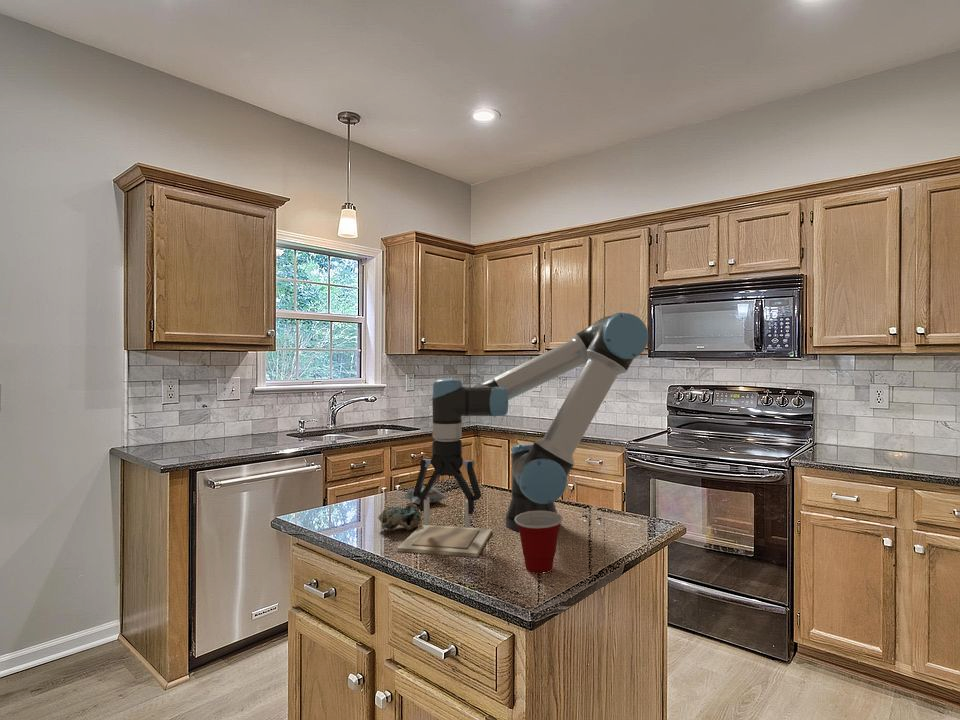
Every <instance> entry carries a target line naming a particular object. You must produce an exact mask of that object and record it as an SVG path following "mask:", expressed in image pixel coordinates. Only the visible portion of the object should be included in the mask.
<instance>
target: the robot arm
mask: <svg viewBox="0 0 960 720" xmlns="http://www.w3.org/2000/svg"><path fill="white" fill-rule="evenodd" d="M648 342H649V332H648V328H647V326H646V324H645V322H643V320H642V319H641V318H640V317H639V316H637V315H635V314H632V313H628V312H617V313H614V314H612V315H608V316H604V317H602V318H600V319H598V320H597V321H595V322H594V323H592V324H590V325H589V326H587V327H586V328H585V329H582V330H581V331H578V332H577V333H575V334H574V335H573V336H572V339H571V340H568V341H566V342H564V343H562V344H560V345H558V346H556V347H554V348H552V349H550V350H548V351H546V352H544V353H541V354H540V355H538V356H536V357H534V358H531V359H529V360H527V361H526V362H524V363H521V364H520V365H517V366H515V367H514V368H511V369H509V370H507V371H505V372H503V373H501V374H498V375H497V376H494V377H493V378H491V379H489V380H486V381H484V382H483V383H479V384H478V383H477V384H476V385H474V386H472V387H471V386H469V387H468V386H467V387H466V386H463V384H462V383H463V382H462V380H461V379H455V378H454V379H453V378H452V379H450V378H449V379H448V378H447V379H446V378H445V379H443V378H442V379H436V380H435V381H434V382H433V383H432V385H433V386H432V397H431V398H432V402H431V404H432V435H431V436H432V438H433V441H432V456H431V458H430V459H429V458H423V459H421V460H420V461H419V462H420V463H419V465H420V469H419V472H418V477H417V480H416V483H415V486H414V488H413V489H414V492H413V496H414V497H418V498H420V505H419V506H420V507H419V511H420V512H423V525H430V522H431V521H430V518H431V517H430V515H431V513H430V511H431V509H430V506H431V505H430V504H431V503H430V498H426V497H427V495H428V493H429V491H430V490H431V488H432V487H433V486H434V485H435V483H436V481H437V479H439V476H440V477H444V476H448V477H453V478H454V479H455V480H456V482H457V484H458V485H459V487H460V489H461V491H462V492H463V495H464V496H465V497H466V500H465V502H464V527H465V528H470V526H471V515H473V514H474V512H475V501H478V500H480V498H481V497H482V493H481V490H480V487H479V482H478V479H477V476H476V473H475V468H474V467H475V461H474V460H473V459H470V460H464V459H463V456H462V452H463V450H462V449H463V448H462V446H463V445H462V444H463V443H462V440H461V438H462V436H463V435H462V434H463V433H462V431H463V429H462V427H463V424H462V422H463V421H462V418H463V417H495V418H496V417H503V416H507V414H508V411H509V400H512V399H514V398H515V397H519V396H520V395H522V394H524V393H526V392H528V391H530V390H532V389H535V388H536V387H538V386H540V385H543V384H544V383H547V382H549V381H551V380H553V379H556V378H557V377H559V376H562V375H563V374H565V373H567V372H570V371H571V370H574V369H576V368H578V367H581V366H582V365H584V366H583V368H582V370H581V372H580V373H579V375H578V376H577V378H576V380H575V382H574V384H573V385H572V387H571V389H570V391H569V392H568V394H567V396H566V398H565V400H564V401H563V403H562V404H561V407H560V408H559V410H558V412H557V414H556V415H555V418H554V419H553V420H552V423H551V424H550V426H549V428H548V430H547V432H546V433H545V434H544V436H543V438H540V439H537V440H534V442H533V444H514V445H513V446H512V447H511V453H510V457H511V499H510V503H509V506H508V508H507V512H506V515H505V527H506V528H508V529H509V530H512V531H514V532H515V531H516V532H519V529H518V526H517V524H516V522H515V520H514V519H515V517H516V516H517V515H519V514H521V513H525V512H528V511H551V512H555V513H558V511H557V509H556V504H555V502H556V501H557V500H559V499H560V498H561V497H562V496H563V495H564V493H565V491H566V489H567V485H568V484H567V483H568V476H569V475H570V472H571V470H572V469H573V467H574V465H575V460H574V458H573V457H574V456H573V455H574V453H575V452H576V450H577V447H578V446H579V444H580V442H581V441H582V439H583V437H584V435H585V433H586V432H587V430H588V429H589V427H590V425H591V423H592V421H593V420H594V418H595V415H596V414H597V413H598V410H599V408H600V407H601V406H602V403H603V402H604V400H605V398H606V396H607V395H608V393H609V391H610V389H611V387H612V386H613V384H614V382H615V381H616V379H617V377H618V376H619V375H622V374H624V373H627V372H628V370H629V368H630V366H631V364H632V363H633V361H634V359H635V358H637V357H639V356H640V355H641V354H642V353H643V352H645V350H646V348H647V346H648ZM430 465H431V466H432V467H433V469H434V471H433V473H432V474H431V477H430V478H429V480H428V482H427V484H426V485H425V486H424V487H425V488H424V490H423V492H421V489H422V487H423V485H424V482H425V477H426V474H427V471H428V468H429V467H430ZM462 466H464V469H466V472H467V475H468V479H469V482H470V487H471V488H470V487H469V485H468V482H466V479H465V478H464V476H463V473H462V472H461V468H462ZM471 489H472V490H471Z"/></svg>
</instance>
